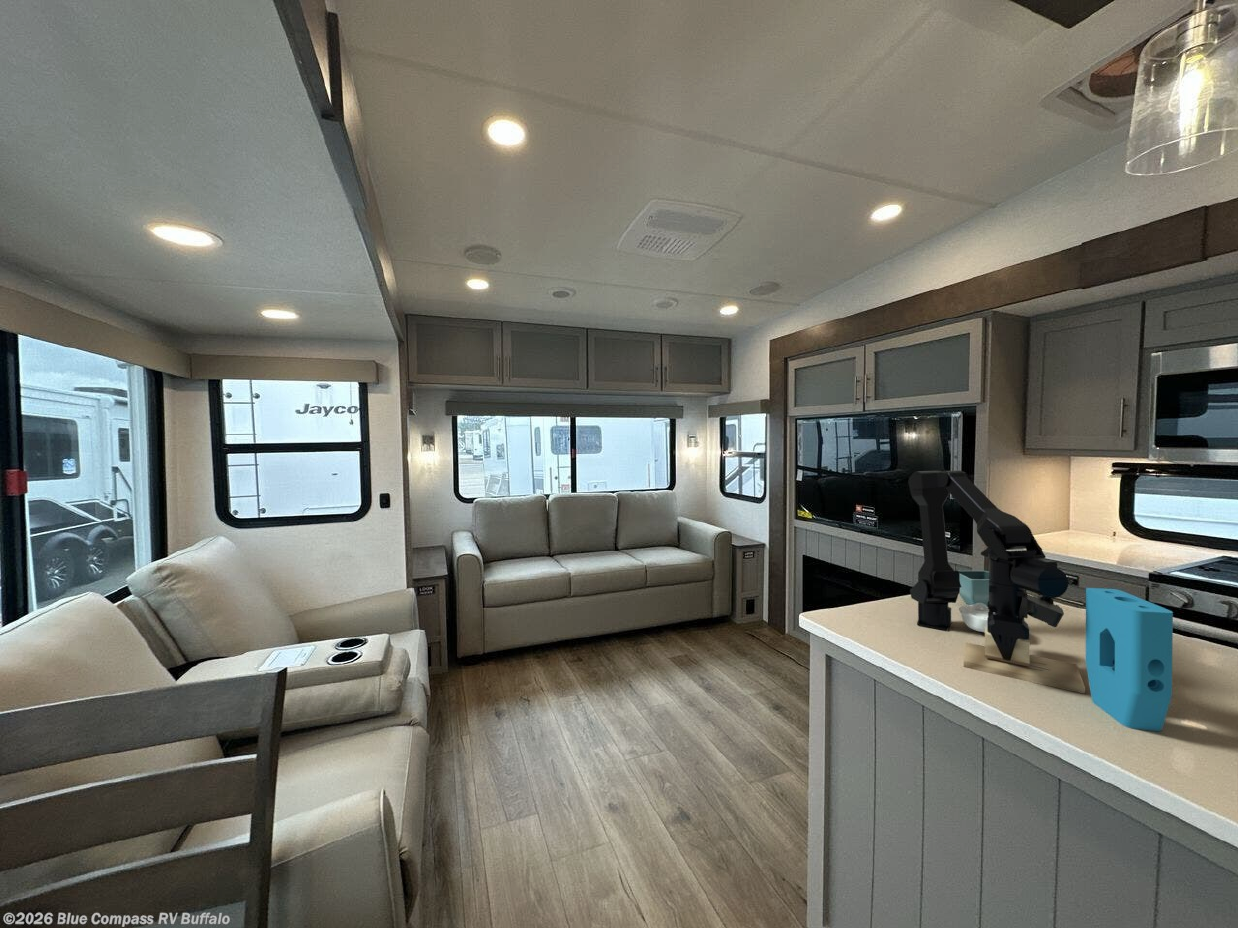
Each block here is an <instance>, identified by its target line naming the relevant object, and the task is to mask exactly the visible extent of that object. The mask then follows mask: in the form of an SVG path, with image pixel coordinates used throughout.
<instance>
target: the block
mask: <svg viewBox="0 0 1238 928" xmlns="http://www.w3.org/2000/svg"><path fill="white" fill-rule="evenodd" d="M1173 613H1174V612H1173V611H1172V610H1170V609H1167V608H1165V607H1162V606H1161V605H1158V604H1155V603H1153V602H1150V601H1147V600H1146V599H1143V598H1140V597H1139V596H1138V597H1137V596H1135V595H1134V594H1130V593H1129V592H1126V591H1123V590H1120V589H1115V588H1097V587H1086V588H1085V666H1086V673H1087V677H1088V684H1089V689H1090V697H1091V701H1092V703H1094V705H1096V706H1097V707H1099V708H1100V709H1101V710H1102V711H1104V712H1105V713H1106V714H1107V715H1109V716H1110V717H1111V718H1113V719H1114V720H1115V721H1116V722H1118V723H1119V724H1120V725H1122V726H1124V727H1127V728H1129V729H1135V730H1142V731H1143V730H1144V731H1154V732H1162V730H1163V727H1164V724H1165V720H1166V717H1167V713H1168V710H1169V707H1170V704H1171V700H1172V697H1173V690H1172V689H1173V636H1174V635H1173V634H1174V633H1173V632H1174V631H1173V629H1174V627H1173V626H1174V621H1173V620H1174V619H1173V618H1174V614H1173Z"/></svg>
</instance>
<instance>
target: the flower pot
mask: <svg viewBox="0 0 1238 928" xmlns="http://www.w3.org/2000/svg"><path fill="white" fill-rule="evenodd" d="M957 571H958V572H959V574H960V584H961V587H960V592H959V594H958V595H959V596H960V598H961V599H962V600H963V602H964V603H965V604H966V605H973V604H975V603H983V604H985V605H986V607H988V597H989V570H988V571H987V570H957Z"/></svg>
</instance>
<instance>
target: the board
mask: <svg viewBox="0 0 1238 928" xmlns="http://www.w3.org/2000/svg"><path fill="white" fill-rule="evenodd" d="M964 645H965V646H964V653H963V655H964V656H963V667H964V668H967V669H973V670H976V671H977V670H978V671H981V672H986V673H990V674H995V675H998V676H999V675H1000V676H1004V677H1009V678H1013V679H1016V680H1022V681H1027V682H1031V683H1036V684H1041V685H1044V686H1049V687H1053V688H1058V689H1063V690H1067V691H1071V692H1076V693H1081V694H1086V687H1085V684H1084V683H1085V682H1084V681H1083V679H1082V675H1081V673H1080V670H1079V667H1078V665H1077V663H1073V662H1068V661H1063V660H1059V659H1058V660H1057V659H1053V658H1047V657H1043V656H1037V655H1031V654H1030V667H1029V666H1024V665H1019V664H1014V663H1010V662H1005V661H1000V660H995V659H990V658H985V645H983V644H982V645H980V644H975V643H971V642H965V644H964Z"/></svg>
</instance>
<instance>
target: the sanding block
mask: <svg viewBox="0 0 1238 928" xmlns="http://www.w3.org/2000/svg"><path fill="white" fill-rule="evenodd" d="M984 646H985V658H990V659H995V660H1000V661H1005V662H1010V663H1014V664H1019V665H1024V666H1029V667H1030V655H1031V654H1030V651H1031V650H1030V649H1031V648H1030V646H1031V645H1030V638H1029V639H1027V640H1024V639H1018V640H1017V641H1016V644H1015V647H1014V650H1013V654H1012V657H1011V660H1010V661H1008V660H1004V659H1003V657H1002V655H1001V653H1000V651H999V649H998V647H997V645H996V643H995V641H994V639H993V637H992V635H991V633H989V632H987V627H985V632H984Z"/></svg>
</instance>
